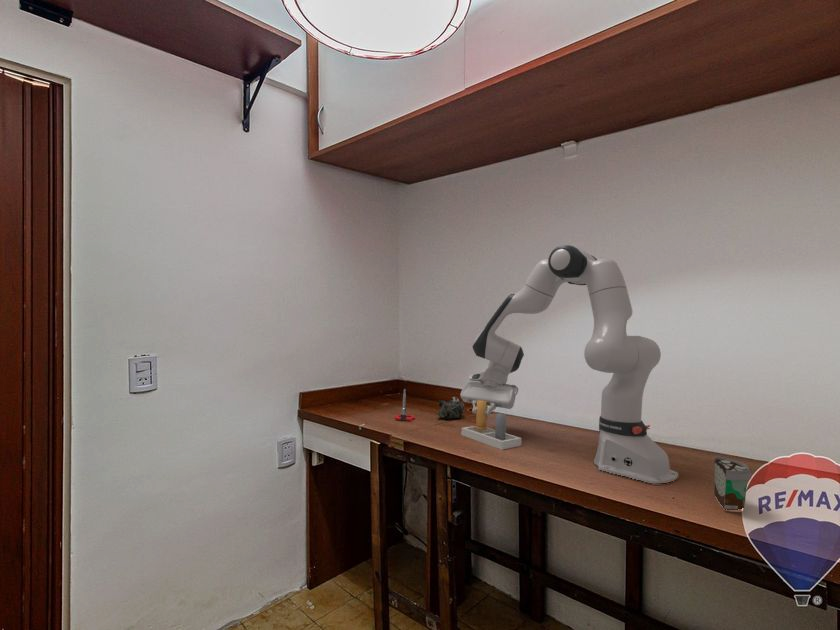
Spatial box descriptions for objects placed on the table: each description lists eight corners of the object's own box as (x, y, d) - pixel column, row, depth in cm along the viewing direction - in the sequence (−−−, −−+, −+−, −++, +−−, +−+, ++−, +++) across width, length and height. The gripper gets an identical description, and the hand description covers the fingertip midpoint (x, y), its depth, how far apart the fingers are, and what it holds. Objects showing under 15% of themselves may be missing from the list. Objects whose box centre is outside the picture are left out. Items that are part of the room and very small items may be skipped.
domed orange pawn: (489, 429, 158) (490, 401, 158) (480, 430, 156) (481, 402, 156) (481, 426, 162) (481, 399, 161) (472, 427, 159) (473, 400, 159)
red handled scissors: (396, 416, 192) (392, 420, 183) (397, 386, 192) (394, 388, 183) (416, 417, 191) (413, 422, 182) (417, 387, 192) (414, 390, 182)
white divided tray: (521, 448, 149) (521, 438, 149) (501, 452, 144) (502, 441, 144) (480, 434, 165) (480, 424, 165) (461, 437, 160) (461, 427, 160)
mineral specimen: (430, 401, 199) (443, 384, 197) (453, 414, 202) (466, 397, 200) (433, 420, 185) (447, 402, 183) (458, 433, 188) (472, 416, 186)
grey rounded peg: (509, 444, 150) (510, 415, 150) (500, 446, 148) (501, 416, 148) (500, 441, 153) (500, 412, 153) (491, 442, 151) (492, 413, 151)
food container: (758, 519, 100) (759, 474, 100) (725, 514, 102) (726, 470, 102) (741, 499, 112) (742, 458, 112) (712, 494, 114) (713, 455, 114)
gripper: (522, 391, 162) (510, 423, 154) (471, 384, 173) (458, 414, 166) (517, 380, 158) (505, 412, 150) (466, 374, 170) (452, 404, 162)
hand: (480, 413), depth 158 cm, fingers closed on domed orange pawn, 3 cm apart
